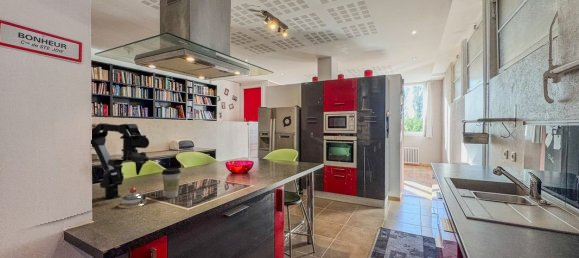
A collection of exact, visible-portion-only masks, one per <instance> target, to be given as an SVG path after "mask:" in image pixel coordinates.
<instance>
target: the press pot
mask: <svg viewBox="0 0 579 258" xmlns="http://www.w3.org/2000/svg"><path fill="white" fill-rule="evenodd" d="M146 196H147V194H146V193H143V194H142V193H140V196H137V197H132V198H127V197H126V195H125V196H123V197H121V199H122V202H121V203H120V204H118V208H120V209H133V208H139V207H142V206H144V205H147V203H148V201H147V200H146Z"/></svg>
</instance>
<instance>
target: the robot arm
mask: <svg viewBox="0 0 579 258" xmlns="http://www.w3.org/2000/svg"><path fill="white" fill-rule="evenodd" d="M91 129H92V140H91V144H92V146H91V147H92V148H93V149H94V151H95V153H96V156H97V157H98V160H99V162H100V164H101V166H102V169H103V175H102V178H103V179H102V181H101V182H100V183H99V187H100V188H102V189H104V196H101V199H105V200H112V199H115V198H120V197H121V195H120V194H119V186H122V185H123V182H124V173H123V171H122V170H123V169H122V168H123V166H124V165H122V164H124V163H125V164H126V163H134V164H135V165H134V166H135V172H136V176H139V174H140V172H141V170H142V168H143V166H144V165H145V164H147V162H149V161H150V158H149V156H147V152H145V151H142V152H139V151H138V149H146V148H148V147H149V146H150V140H149V138H148V137H147V135H146V134H142V132H141V130H140V128H139V126H138V125H137V124H135V123H122V124H114V123H113V124H112V123H107V122H105V123H103V122H101V123H98V124H96V126H94V127H93V128H91ZM108 132H116V133H119V134H121V136H120V137H119V139H122V147H123V148H121V152H122V156H121V158H111V155H110V153H109V152H108V149H107V146H106V145H105V144H106V140H107V139H106V138H107V136H108Z"/></svg>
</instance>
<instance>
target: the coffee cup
mask: <svg viewBox="0 0 579 258" xmlns="http://www.w3.org/2000/svg"><path fill="white" fill-rule="evenodd" d="M181 173H182V171H181V169H180V168H175V167H174V168H173V167H172V168H165V169H162V172H161V176H162V183H163V192H164V196H165V198H166V199H171V198H177V197H178V196H179V195H178V194H179V189H180V188H179V187H180V180H181Z"/></svg>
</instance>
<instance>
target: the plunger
mask: <svg viewBox="0 0 579 258" xmlns="http://www.w3.org/2000/svg"><path fill="white" fill-rule="evenodd" d="M140 194H141V193H139V192H137V188H135V187H130V189H129V194H126V195H125V196H126V197H127V198H132V197H137V196H140Z"/></svg>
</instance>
